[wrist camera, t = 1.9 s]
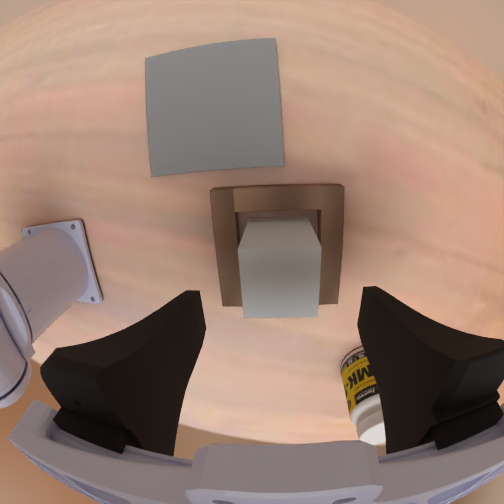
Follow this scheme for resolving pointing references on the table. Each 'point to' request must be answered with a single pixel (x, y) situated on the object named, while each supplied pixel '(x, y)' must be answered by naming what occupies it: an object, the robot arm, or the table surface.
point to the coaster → (214, 108)
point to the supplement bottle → (363, 397)
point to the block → (279, 268)
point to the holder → (276, 199)
